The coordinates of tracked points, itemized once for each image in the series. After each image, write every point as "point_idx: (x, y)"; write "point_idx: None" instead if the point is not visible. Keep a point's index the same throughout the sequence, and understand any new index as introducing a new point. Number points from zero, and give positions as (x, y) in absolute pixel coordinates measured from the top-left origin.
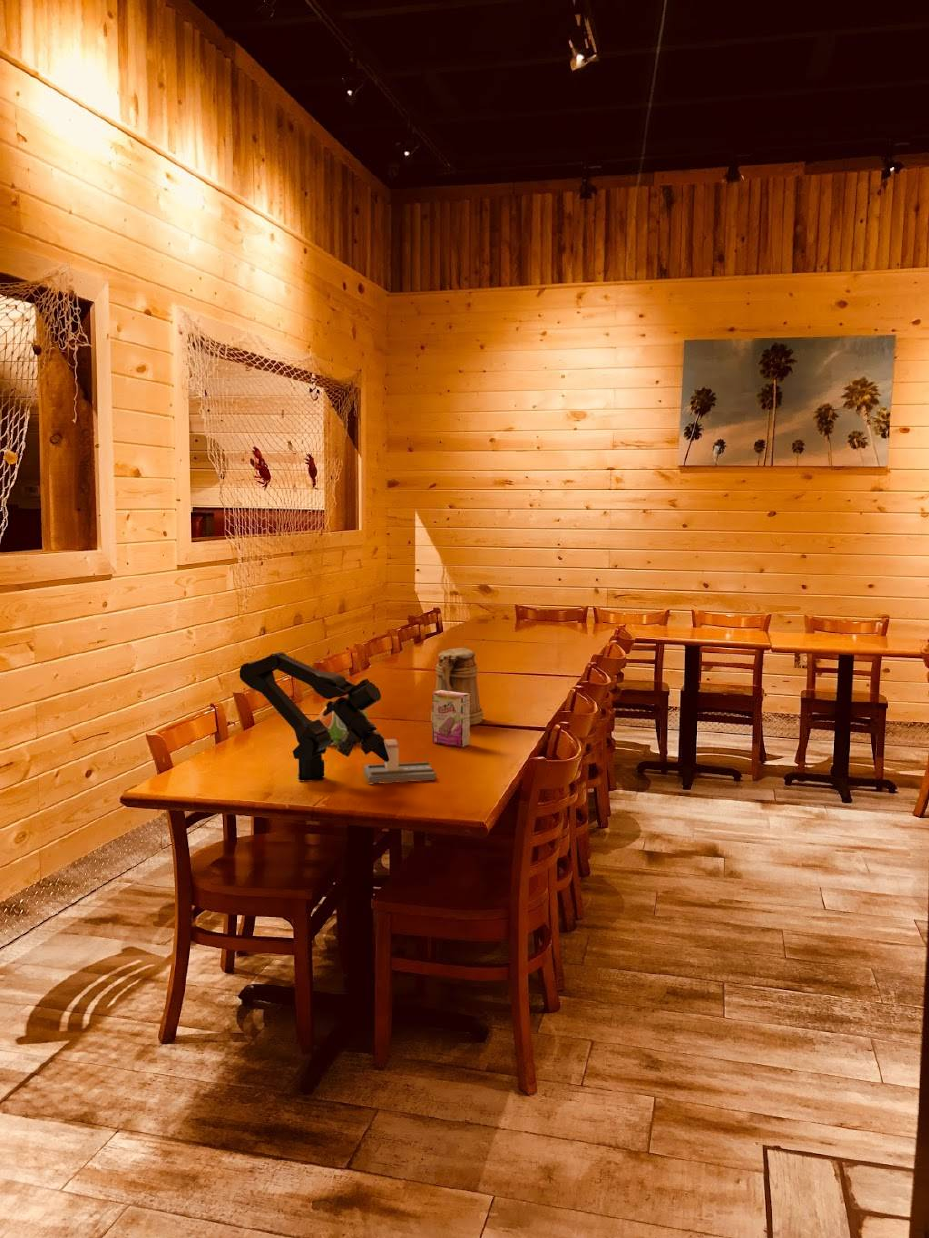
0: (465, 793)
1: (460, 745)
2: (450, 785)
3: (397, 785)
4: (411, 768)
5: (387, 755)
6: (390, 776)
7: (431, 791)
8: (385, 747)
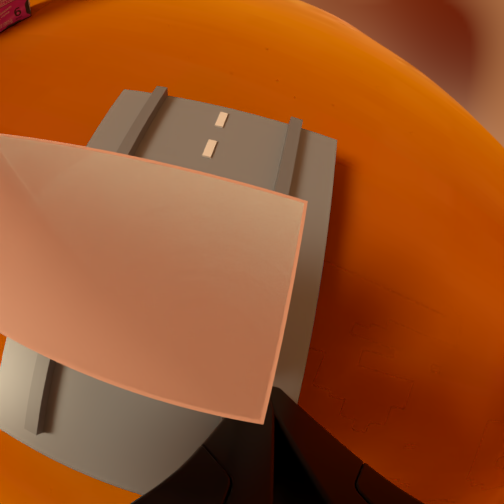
0: (472, 167)
1: (26, 14)
2: (399, 152)
3: (344, 360)
4: None
5: (304, 417)
6: (298, 386)
7: (454, 247)
8: (382, 476)
